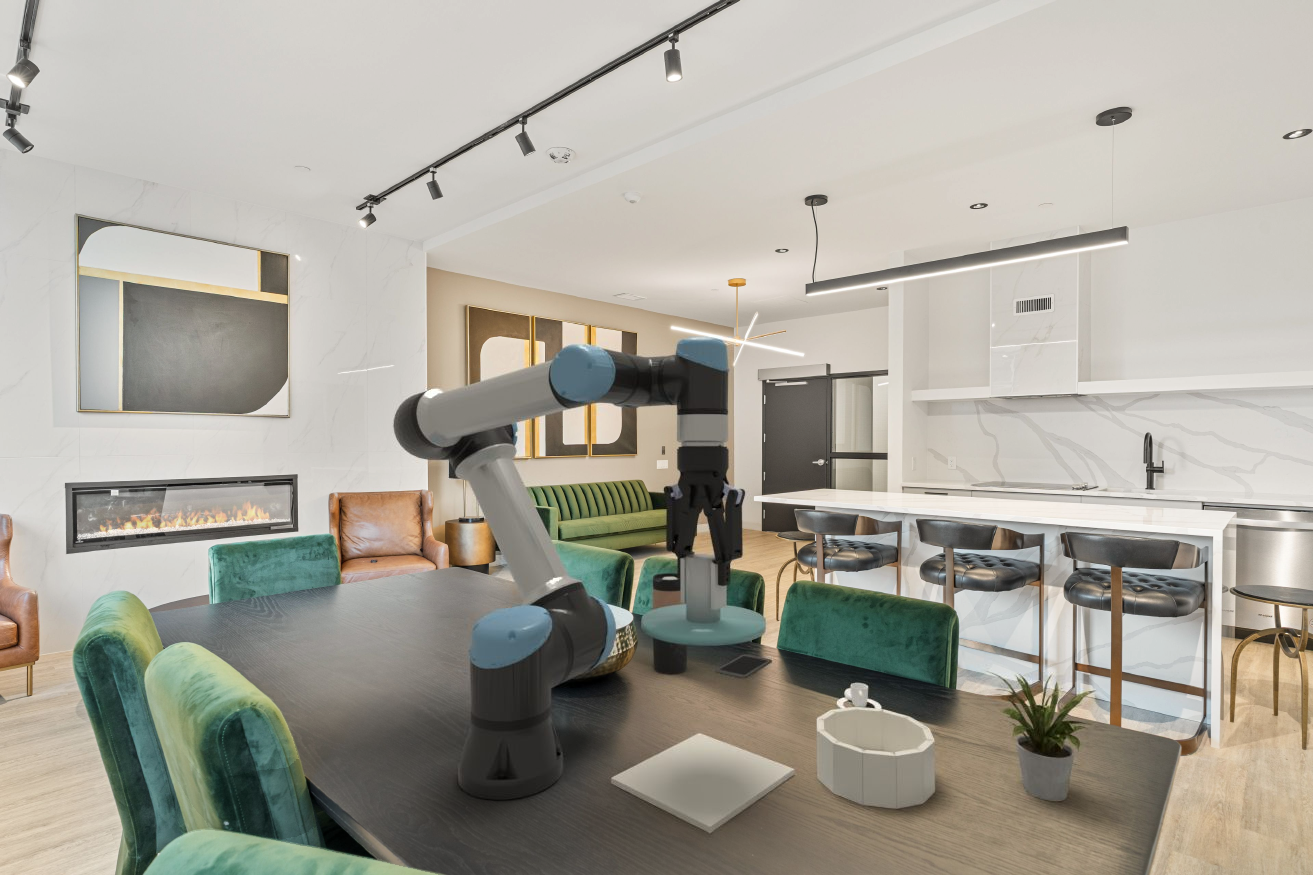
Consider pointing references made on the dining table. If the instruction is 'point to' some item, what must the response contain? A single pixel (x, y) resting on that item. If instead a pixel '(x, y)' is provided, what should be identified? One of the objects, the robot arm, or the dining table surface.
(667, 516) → the robot arm
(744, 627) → the lid
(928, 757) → the bowl
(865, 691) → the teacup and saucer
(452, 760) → the dining table surface
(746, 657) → the cell phone
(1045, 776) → the house plant
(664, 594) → the travel mug
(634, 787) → the mat
